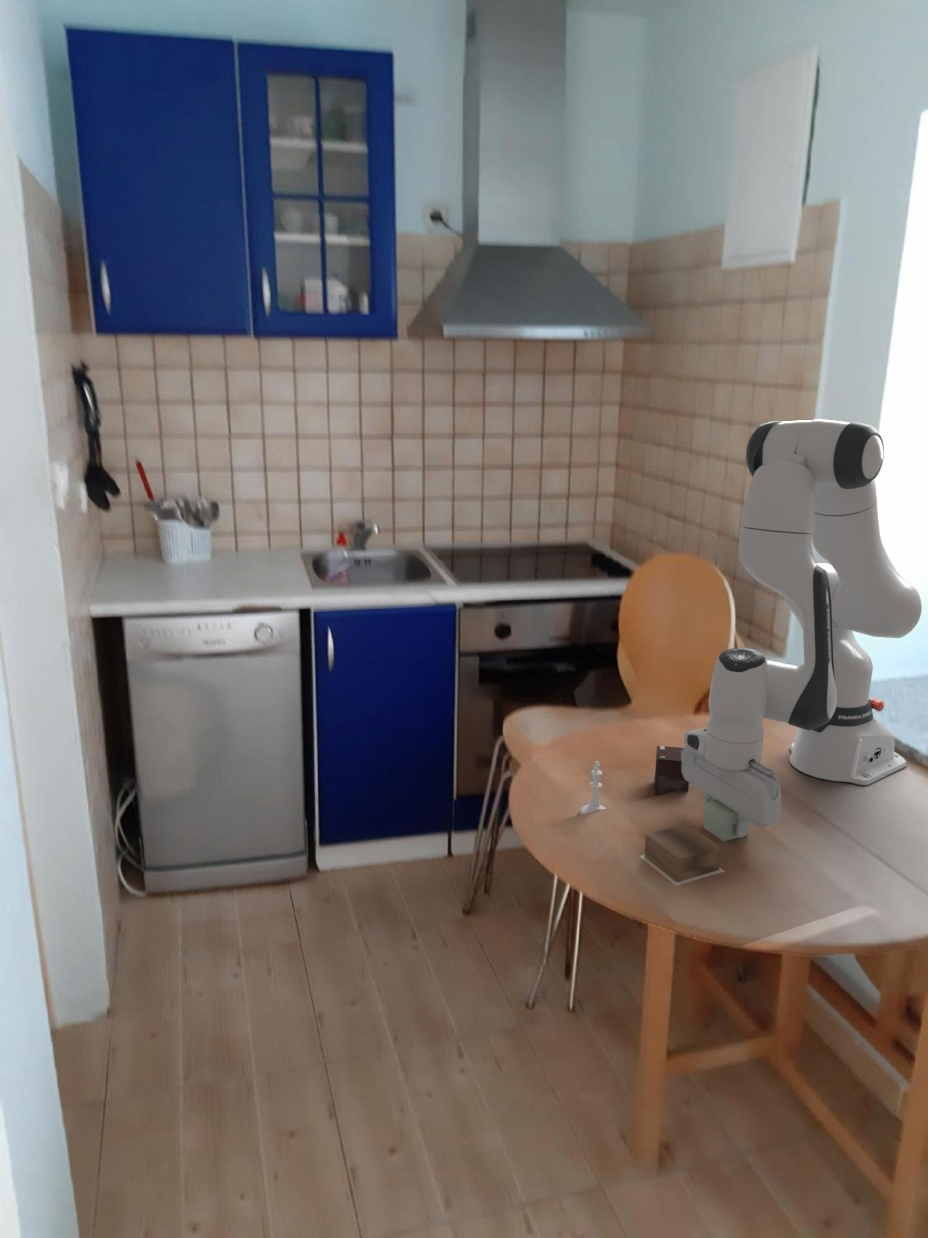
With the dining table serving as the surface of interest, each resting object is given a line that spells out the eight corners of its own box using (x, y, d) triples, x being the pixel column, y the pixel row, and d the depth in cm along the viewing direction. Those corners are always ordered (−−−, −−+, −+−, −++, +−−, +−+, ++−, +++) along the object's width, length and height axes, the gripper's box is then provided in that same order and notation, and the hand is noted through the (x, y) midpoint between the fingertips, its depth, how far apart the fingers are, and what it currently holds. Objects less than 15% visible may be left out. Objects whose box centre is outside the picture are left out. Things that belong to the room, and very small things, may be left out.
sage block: (726, 827, 160) (729, 795, 158) (746, 841, 156) (750, 808, 154) (702, 834, 158) (705, 801, 156) (723, 848, 154) (726, 814, 152)
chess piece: (613, 812, 165) (616, 760, 162) (601, 824, 161) (604, 770, 158) (587, 805, 168) (590, 753, 165) (575, 816, 164) (577, 763, 161)
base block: (685, 845, 152) (687, 823, 151) (718, 870, 145) (721, 847, 144) (644, 857, 148) (646, 834, 147) (676, 882, 142) (678, 858, 140)
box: (687, 799, 170) (691, 761, 168) (653, 795, 171) (656, 758, 169) (687, 784, 176) (690, 747, 174) (654, 781, 177) (656, 744, 175)
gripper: (795, 771, 145) (786, 851, 149) (707, 723, 162) (700, 796, 166) (764, 779, 142) (755, 860, 146) (677, 729, 160) (672, 804, 164)
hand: (725, 826), depth 156 cm, fingers closed on sage block, 5 cm apart
